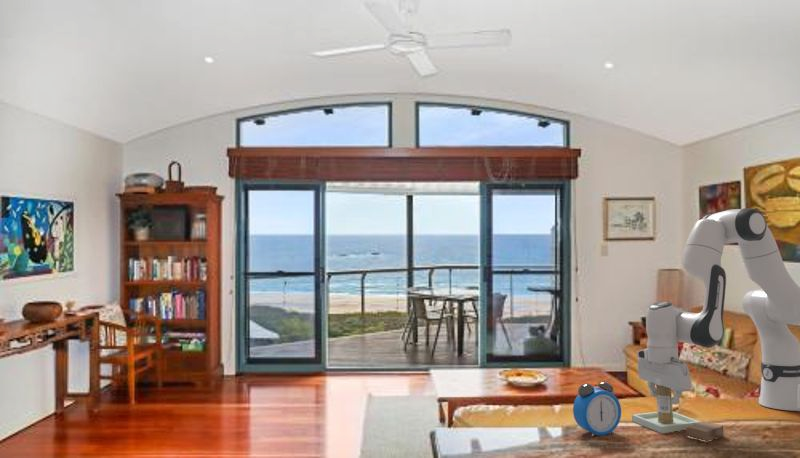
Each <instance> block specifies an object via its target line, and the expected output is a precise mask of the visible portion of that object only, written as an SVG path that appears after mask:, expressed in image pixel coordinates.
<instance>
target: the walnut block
mask: <svg viewBox="0 0 800 458" xmlns="http://www.w3.org/2000/svg"><path fill="white" fill-rule="evenodd" d="M685 434H686V435H685V436H690V437H693V438H697V439H701V440H705V441H709V440H712V439H716V438H718V439H720V438H719V437H721V438H722V437H724V426H723V425H722V424H721V425H720V424H717V423H711V422H707V421H704V420H703V421H700V422H699V423H697V424H694V425H691V426H688V427H686V431H685ZM716 440H717V439H716Z"/></svg>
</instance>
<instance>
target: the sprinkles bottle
mask: <svg viewBox="0 0 800 458" xmlns="http://www.w3.org/2000/svg"><path fill="white" fill-rule="evenodd" d="M655 384H656V385H655V387H656V391H657V397H656V406H657V407H656V409H657V411H656V412H658V421H659V422H661V423H673V412H674V411H673V410H674V409H673V403H672V402H671V401H672V400H671V397H672V389H671V388H667V387H664V386H662V381H661V380H660V379H657V378H656V379H655Z"/></svg>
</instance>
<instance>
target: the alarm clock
mask: <svg viewBox="0 0 800 458" xmlns="http://www.w3.org/2000/svg"><path fill="white" fill-rule="evenodd" d="M614 391H615V390H614V387H613V385H612V384H610V383H609V381H607V382H606V381H601V382H599V383H597V384H594V385H592V384H590V383H582V384H580V386H579V387H578V389H577V393H578V394H577V396H576V398H575V399H574V403H573V408H572V413H573V418H574V421H575V422H576V424H577V425H578V426H579V427H580V428H581V429H583V430H585V431H587V432H589V433H590V434H591V435H592V434H594V435H596V436H606V435H609V434H611V435H612V434H613V431H614V430H616V428H617V427H618V425H619V423H620V421H621V418H622V407H621V403H620V401H619V399H618V398H617V396H616V395H615V394H614Z"/></svg>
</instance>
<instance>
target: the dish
mask: <svg viewBox="0 0 800 458" xmlns="http://www.w3.org/2000/svg"><path fill="white" fill-rule="evenodd" d="M631 422H633V423H635V424H637V425H640V426H642V427H645V428H648V429H650V430H652V431H655V432H657V433H659V434H669V433H670V432H671V433H674V432H673V431H678V432H681V431H680V430H686V427H688V426H691V425H694V424H697V423H699V422H701V421H700V420H698V419H695V418H691V417H690V416H686V415H683V414H681V413H677V412H675V411H673V423H661V422H659V421H658V411H651V412H643V413H642V412H641V413H634V414H631Z"/></svg>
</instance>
